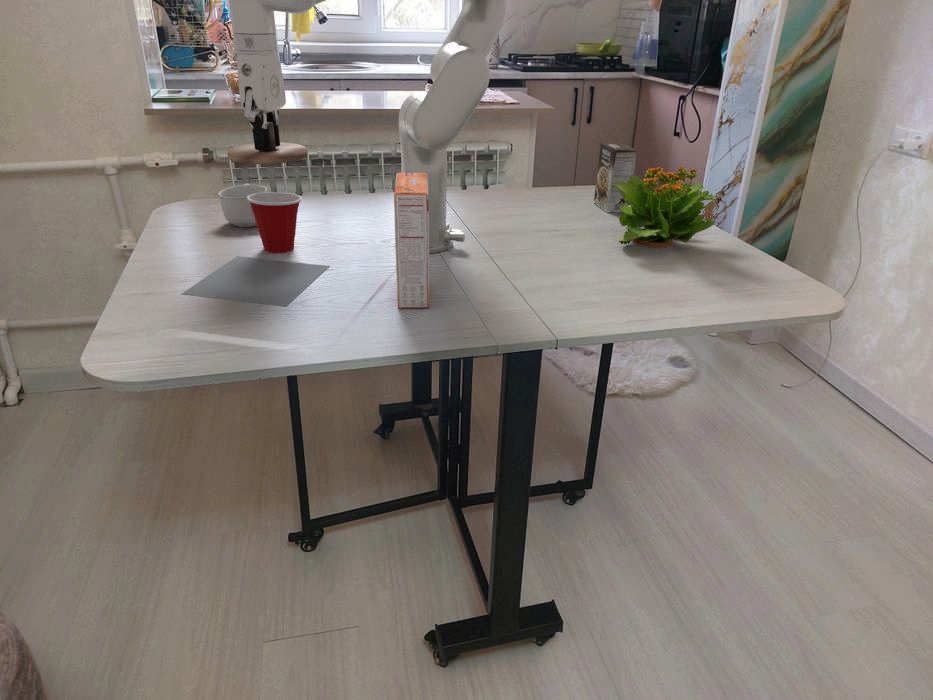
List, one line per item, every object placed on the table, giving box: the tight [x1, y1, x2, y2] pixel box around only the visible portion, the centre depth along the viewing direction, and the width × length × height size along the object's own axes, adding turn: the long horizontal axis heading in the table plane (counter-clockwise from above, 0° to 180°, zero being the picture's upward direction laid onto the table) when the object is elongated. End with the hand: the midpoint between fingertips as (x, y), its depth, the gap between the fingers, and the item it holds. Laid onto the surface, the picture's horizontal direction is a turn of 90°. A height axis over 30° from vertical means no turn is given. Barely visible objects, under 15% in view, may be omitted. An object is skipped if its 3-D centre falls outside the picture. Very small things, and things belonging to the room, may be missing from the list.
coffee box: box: [593, 142, 638, 212], centre depth 176 cm, size 9×6×16 cm
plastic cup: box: [247, 191, 303, 254], centre depth 140 cm, size 11×11×12 cm
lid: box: [226, 122, 308, 165], centre depth 130 cm, size 15×15×6 cm
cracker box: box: [393, 171, 430, 309], centre depth 120 cm, size 14×6×21 cm, turn 3°
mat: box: [181, 255, 331, 307], centre depth 127 cm, size 20×20×1 cm
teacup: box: [218, 183, 268, 228], centre depth 158 cm, size 14×11×8 cm
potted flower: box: [611, 166, 717, 249], centre depth 152 cm, size 25×24×18 cm
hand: (267, 147), depth 130 cm, fingers closed on lid, 3 cm apart
